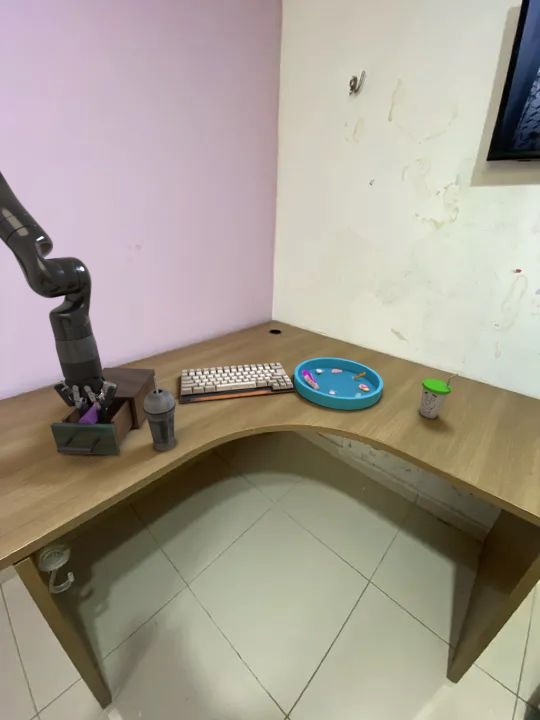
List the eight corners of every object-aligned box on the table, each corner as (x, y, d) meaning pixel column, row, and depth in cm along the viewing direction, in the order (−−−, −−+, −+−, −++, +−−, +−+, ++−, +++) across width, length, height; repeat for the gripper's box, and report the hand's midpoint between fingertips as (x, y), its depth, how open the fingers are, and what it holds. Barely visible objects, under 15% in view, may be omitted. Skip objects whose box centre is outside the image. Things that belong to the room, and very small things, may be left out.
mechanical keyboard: (180, 404, 94) (179, 394, 92) (180, 375, 111) (179, 367, 109) (297, 392, 103) (298, 383, 102) (280, 367, 120) (281, 359, 119)
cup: (409, 412, 95) (421, 368, 89) (422, 404, 100) (434, 362, 93) (434, 425, 90) (449, 379, 83) (446, 416, 94) (461, 372, 88)
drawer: (109, 468, 68) (102, 440, 65) (46, 466, 68) (36, 438, 65) (141, 417, 85) (137, 393, 82) (91, 416, 85) (85, 391, 82)
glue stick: (95, 427, 70) (85, 417, 69) (84, 432, 71) (75, 422, 70) (110, 408, 77) (102, 399, 76) (100, 413, 78) (92, 403, 77)
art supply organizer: (283, 369, 118) (284, 355, 116) (354, 364, 125) (357, 350, 123) (311, 414, 92) (313, 397, 89) (399, 404, 99) (403, 388, 96)
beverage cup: (180, 434, 81) (174, 365, 73) (178, 453, 75) (170, 380, 66) (151, 436, 80) (141, 367, 72) (146, 455, 74) (134, 382, 65)
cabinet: (139, 428, 83) (133, 397, 79) (83, 426, 82) (74, 395, 78) (158, 396, 97) (154, 369, 93) (110, 395, 97) (104, 367, 92)
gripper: (119, 348, 70) (130, 411, 78) (56, 346, 70) (74, 410, 77) (103, 363, 64) (117, 430, 71) (34, 360, 63) (55, 429, 71)
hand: (94, 419), depth 74 cm, fingers closed on glue stick, 3 cm apart
